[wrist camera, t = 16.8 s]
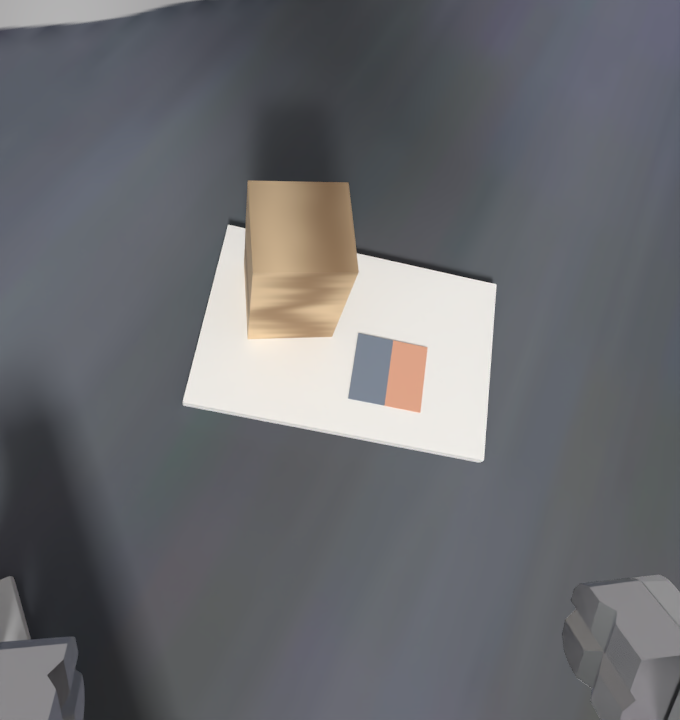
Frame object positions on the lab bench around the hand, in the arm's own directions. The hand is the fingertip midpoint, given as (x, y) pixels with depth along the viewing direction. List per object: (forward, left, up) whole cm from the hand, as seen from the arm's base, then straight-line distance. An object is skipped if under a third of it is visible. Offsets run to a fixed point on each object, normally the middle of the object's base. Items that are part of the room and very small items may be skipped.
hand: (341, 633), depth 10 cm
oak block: (-2, +20, -31) cm, 37 cm away
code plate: (+3, +18, -31) cm, 36 cm away
